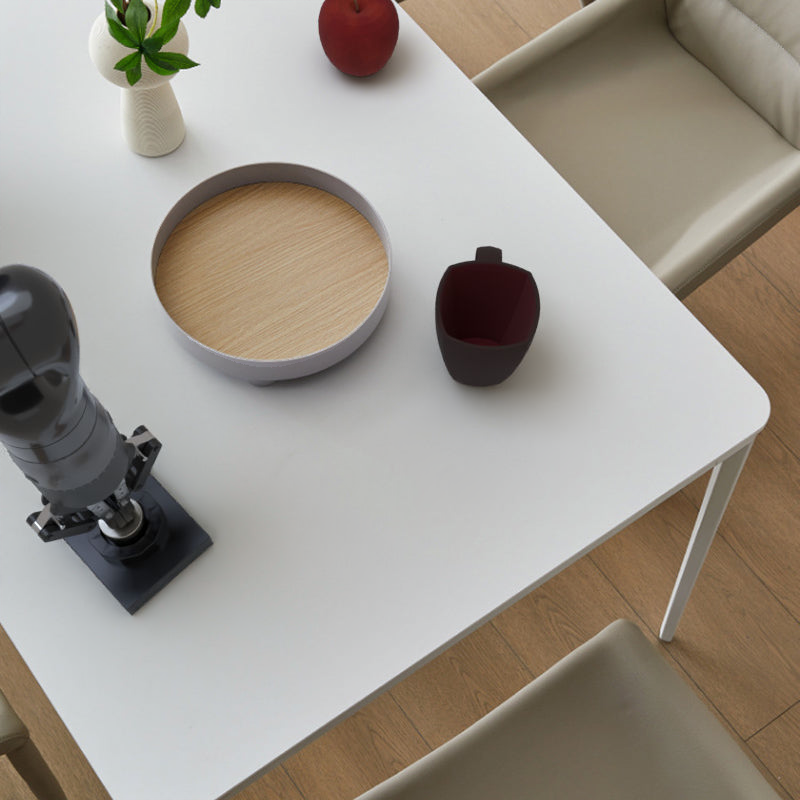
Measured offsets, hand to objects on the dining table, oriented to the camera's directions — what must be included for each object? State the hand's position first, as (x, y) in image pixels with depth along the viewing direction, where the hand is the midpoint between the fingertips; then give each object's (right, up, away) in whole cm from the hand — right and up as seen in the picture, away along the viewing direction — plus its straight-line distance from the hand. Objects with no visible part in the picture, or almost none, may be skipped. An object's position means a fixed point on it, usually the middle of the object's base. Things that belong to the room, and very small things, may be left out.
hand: (120, 516), depth 93 cm
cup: (+34, +16, +15) cm, 40 cm away
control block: (0, -3, +5) cm, 6 cm away
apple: (+21, +52, +31) cm, 64 cm away
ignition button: (0, -1, +2) cm, 2 cm away
